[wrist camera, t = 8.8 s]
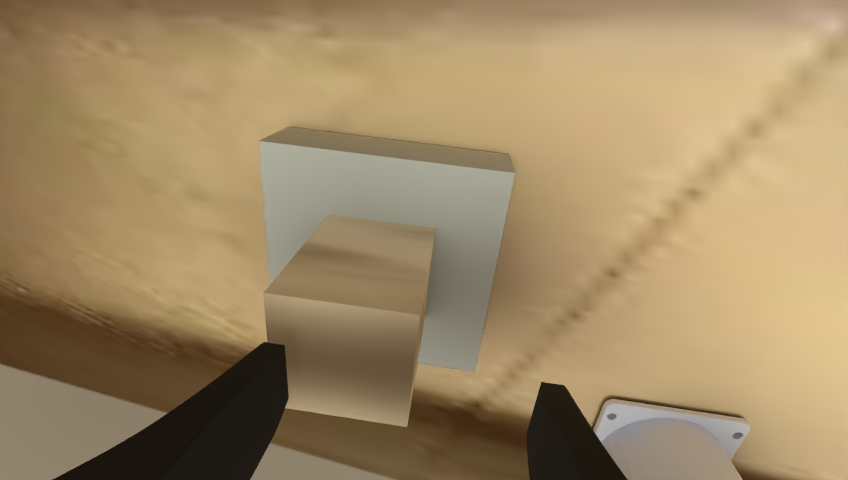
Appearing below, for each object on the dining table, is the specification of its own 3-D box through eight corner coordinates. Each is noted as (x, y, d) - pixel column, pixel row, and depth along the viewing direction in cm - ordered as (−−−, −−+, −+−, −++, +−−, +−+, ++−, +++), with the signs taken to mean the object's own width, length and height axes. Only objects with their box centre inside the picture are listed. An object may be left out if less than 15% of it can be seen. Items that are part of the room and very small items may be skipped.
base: (474, 332, 23) (474, 371, 20) (297, 307, 23) (274, 342, 20) (508, 153, 18) (515, 173, 16) (289, 126, 19) (258, 140, 16)
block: (425, 317, 19) (406, 426, 13) (328, 303, 19) (273, 405, 14) (435, 228, 17) (419, 315, 11) (328, 214, 17) (263, 293, 12)
